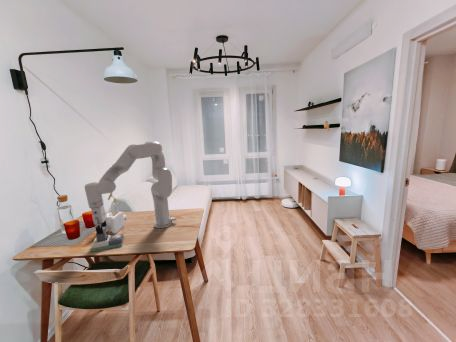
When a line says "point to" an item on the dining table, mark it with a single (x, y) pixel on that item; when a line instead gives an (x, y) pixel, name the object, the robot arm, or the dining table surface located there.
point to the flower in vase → (116, 205)
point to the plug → (102, 236)
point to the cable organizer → (114, 222)
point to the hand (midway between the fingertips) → (102, 230)
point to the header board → (108, 243)
